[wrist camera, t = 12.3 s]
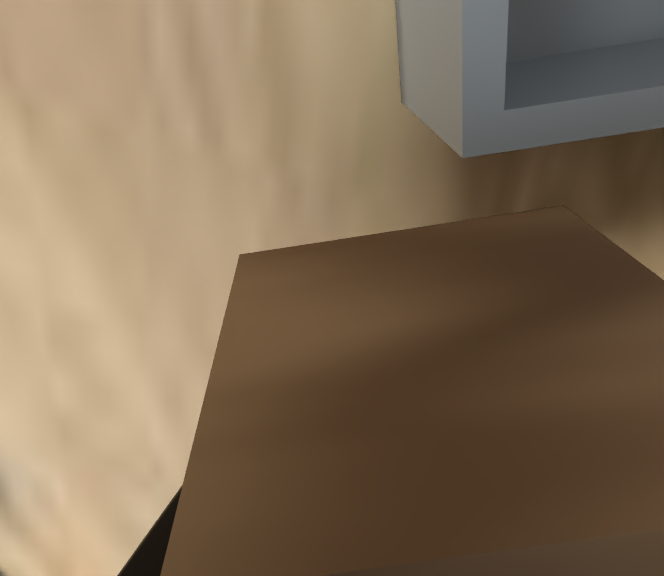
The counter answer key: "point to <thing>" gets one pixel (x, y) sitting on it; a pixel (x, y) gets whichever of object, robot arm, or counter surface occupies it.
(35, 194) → the counter surface
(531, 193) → the counter surface
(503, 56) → the tote
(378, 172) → the counter surface
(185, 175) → the counter surface
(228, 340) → the walnut cube
